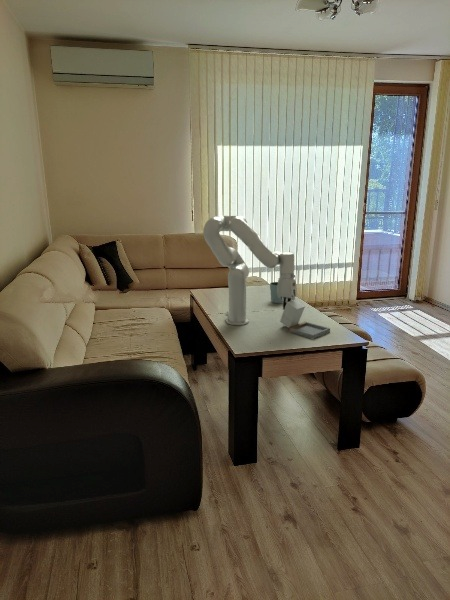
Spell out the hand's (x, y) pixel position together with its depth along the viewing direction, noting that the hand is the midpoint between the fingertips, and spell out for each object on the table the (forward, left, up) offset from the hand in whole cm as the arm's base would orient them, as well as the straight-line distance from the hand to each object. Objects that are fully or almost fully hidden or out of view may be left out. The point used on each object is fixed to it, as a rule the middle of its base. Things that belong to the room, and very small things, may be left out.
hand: (286, 309), depth 233 cm
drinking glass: (-34, +34, -9) cm, 49 cm away
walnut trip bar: (+8, 0, -9) cm, 12 cm away
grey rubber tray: (+16, 0, -9) cm, 18 cm away
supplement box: (+2, 0, -8) cm, 8 cm away
